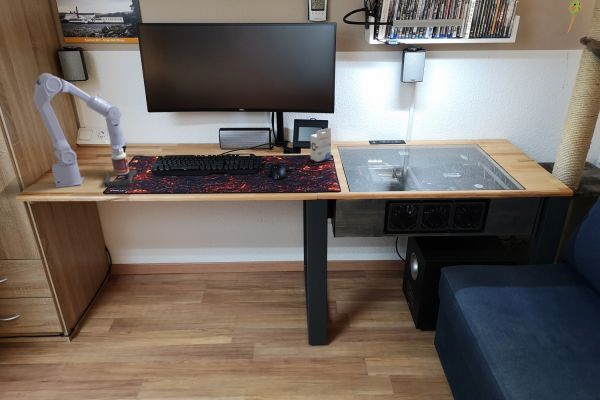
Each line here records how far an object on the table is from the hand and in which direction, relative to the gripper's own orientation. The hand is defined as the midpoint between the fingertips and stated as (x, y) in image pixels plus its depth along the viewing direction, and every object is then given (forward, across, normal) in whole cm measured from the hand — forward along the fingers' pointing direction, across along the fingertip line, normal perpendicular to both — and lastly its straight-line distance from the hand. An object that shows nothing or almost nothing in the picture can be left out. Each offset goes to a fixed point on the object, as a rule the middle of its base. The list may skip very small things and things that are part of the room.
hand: (122, 162), depth 195 cm
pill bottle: (+3, -4, 0) cm, 5 cm away
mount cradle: (+3, -13, 0) cm, 13 cm away
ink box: (+5, -10, -89) cm, 89 cm away
